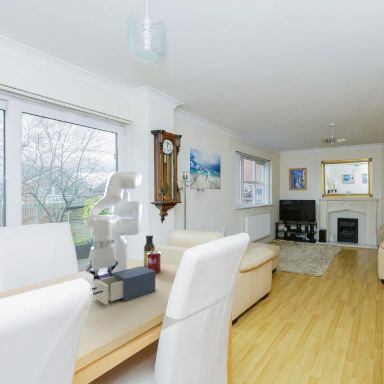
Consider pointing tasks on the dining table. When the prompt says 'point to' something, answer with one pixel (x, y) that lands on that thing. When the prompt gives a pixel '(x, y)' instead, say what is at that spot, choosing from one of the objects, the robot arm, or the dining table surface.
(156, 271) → the soda can
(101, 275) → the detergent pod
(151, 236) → the sauce bottle
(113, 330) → the dining table surface
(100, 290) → the white drawer
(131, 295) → the blue-grey drawer housing
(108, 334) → the dining table surface
